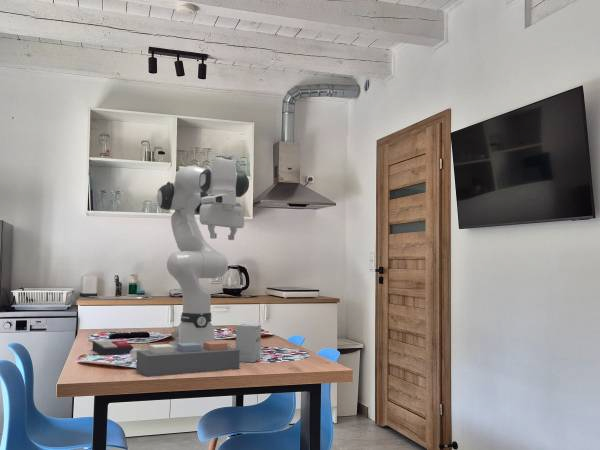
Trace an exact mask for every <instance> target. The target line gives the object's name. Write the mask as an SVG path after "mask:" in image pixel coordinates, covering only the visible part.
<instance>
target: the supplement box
mask: <svg viewBox="0 0 600 450" xmlns="http://www.w3.org/2000/svg"><path fill="white" fill-rule="evenodd" d="M261 334H262V324H261V323H240V324H237V325H236V328H235V349H237V350H239V363H240V362H242V363H256V362H257V361H259V360H261V337H262V336H261Z"/></svg>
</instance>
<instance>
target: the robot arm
mask: <svg viewBox="0 0 600 450" xmlns="http://www.w3.org/2000/svg"><path fill="white" fill-rule="evenodd" d="M236 167H237V166H236V160H235V159H234V158H232V157H231V156H230V157H229V156H222V155H216V156H214V157H213V159H212V164H211V165H210V166H209V167H208V168H203V167H201V166H200V167H199V166H197V165H188V166H184V167H181V168H180V169H179V170H178V171H177V172H176V174H175V178H174V179H175V180H174V182H170V181H167V183H166V184H164V185H162V186H161V187H159V188H158V190H157V194H156V201H157V204H158V207H159V208H160V209H161V210H166V211H171V210H172V211H174V212H173V213H172V215H171V217H170V222H171V223H170V224H171V229H172V230H171V231H172V232H173V233H172V234H173V236H174V239H175V240H174V241H175V244H176V246H177V249H178V250H179V251H175V252H172V253H171V254H170V255H169V256H168V258H167V261H166V269H167V271H168V273H169V274H170V276H172V277H173V278H174V279H175V281H177V283H178V285H179V287H180V289H181V292H182V294H181V295H182V312H181V315H180V323H179V324H178V325H177V327H176V329H175V330H174V331H172V332H171V337H172V338H174V341H169V342H168V344H169V345H172V346H174V348H177V343H198V344H200V345H201V347H203V342H213V341H216V340H215V327H214V325H213V324H212V323H211V322H212V317H213V316H212V312H211V304H212V303H211V301H212V298H211V297H212V296H211V293H210V291H209V290H208V289H207V288H205V287H203V286H202V285H201V283H200V280H199V279H215V278H219V277H223V276H224V275H225V274H226V272H228V268H229V261H228V258H227V257H226V256H225V254H223V253H222V252H219V251H217V250H216V249H214V248H213V247H212V246H211V245H210V244H209V243H208V242H207V241H206V239H205V238H204V236H203V233H202V232H201V229H200V227H199V224H198V222H197V219H196V217H195V215H196V214H199V222H200V224H201V225H203V226H204V225H205V226H207V230H208V233H209V238H210V239H214V240H215V239H217V238H218V236H217V233H216V231H215V229H216V227H221V228H229V231H230V233H229V234H228V235H227V239H228V241H235V235H236V234H237V232H238V229H243V228H244V227H245V214H244V209H243V206H242V205H241V203H239V202H237V199H236V198H242V197H243V196H244V195H245V194H246V193H247V192H248V190H249V188H250V179H249V177H248V176H247V174H246V173H245V172H244V171H243V170H237V168H236ZM195 213H196V214H195Z"/></svg>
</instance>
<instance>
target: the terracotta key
mask: <svg viewBox="0 0 600 450" xmlns="http://www.w3.org/2000/svg"><path fill="white" fill-rule="evenodd" d="M227 346H228V343H227V342H224V341H221V340H219V341H218V340H215V341H213V342H203V349H206V350H209V351H214V350H227Z"/></svg>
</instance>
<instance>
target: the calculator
mask: <svg viewBox="0 0 600 450" xmlns="http://www.w3.org/2000/svg"><path fill="white" fill-rule="evenodd" d="M132 349H134V346H133V345H132V344H130V343H128V342H127V341H125V340H122V339H120V338H119V339H103V340H101V339H100V340H94V341H92V352H94V353H97V354H99V355H101V356H103V357H104V356H116V355H117V356H119V355H131V354H132V351H131V350H132ZM130 351H131V354H130Z"/></svg>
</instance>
